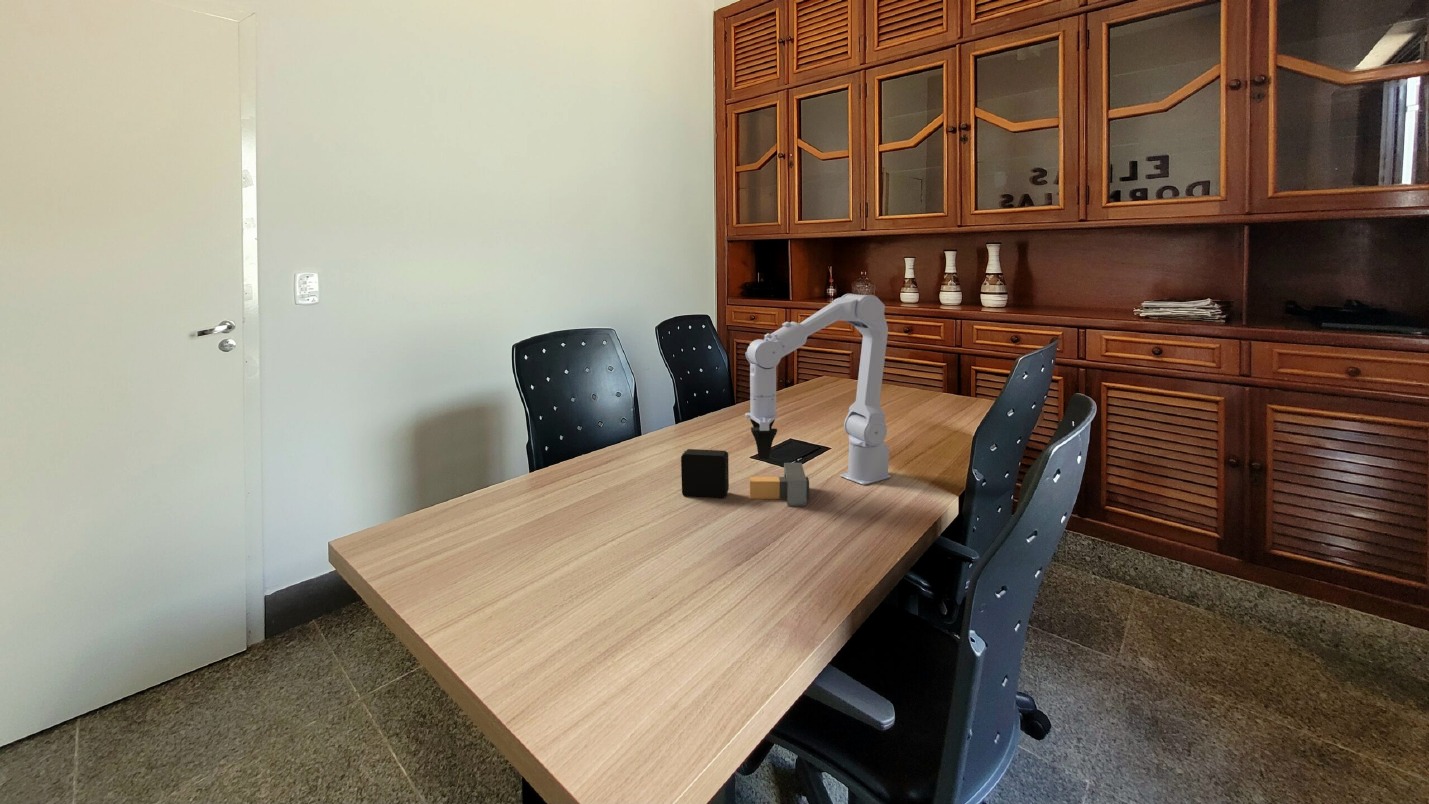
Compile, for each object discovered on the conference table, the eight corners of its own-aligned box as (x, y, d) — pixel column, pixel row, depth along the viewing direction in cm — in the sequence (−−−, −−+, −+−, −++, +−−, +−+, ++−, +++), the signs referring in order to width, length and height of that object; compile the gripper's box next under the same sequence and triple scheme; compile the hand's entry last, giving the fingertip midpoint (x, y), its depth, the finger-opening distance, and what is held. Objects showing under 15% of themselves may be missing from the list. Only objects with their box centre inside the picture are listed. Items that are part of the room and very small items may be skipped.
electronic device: (725, 499, 135) (725, 456, 133) (681, 496, 137) (680, 454, 135) (728, 492, 139) (728, 450, 137) (686, 489, 141) (685, 448, 139)
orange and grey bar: (807, 493, 138) (807, 476, 137) (808, 498, 135) (809, 481, 134) (750, 493, 139) (750, 476, 138) (750, 498, 136) (750, 481, 135)
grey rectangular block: (801, 486, 142) (801, 462, 141) (806, 506, 131) (806, 480, 129) (783, 486, 143) (784, 462, 141) (787, 506, 131) (787, 480, 130)
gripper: (744, 388, 141) (745, 444, 144) (745, 401, 127) (745, 463, 130) (775, 387, 141) (775, 444, 144) (779, 401, 127) (778, 463, 130)
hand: (763, 453), depth 137 cm, fingers open, 7 cm apart
